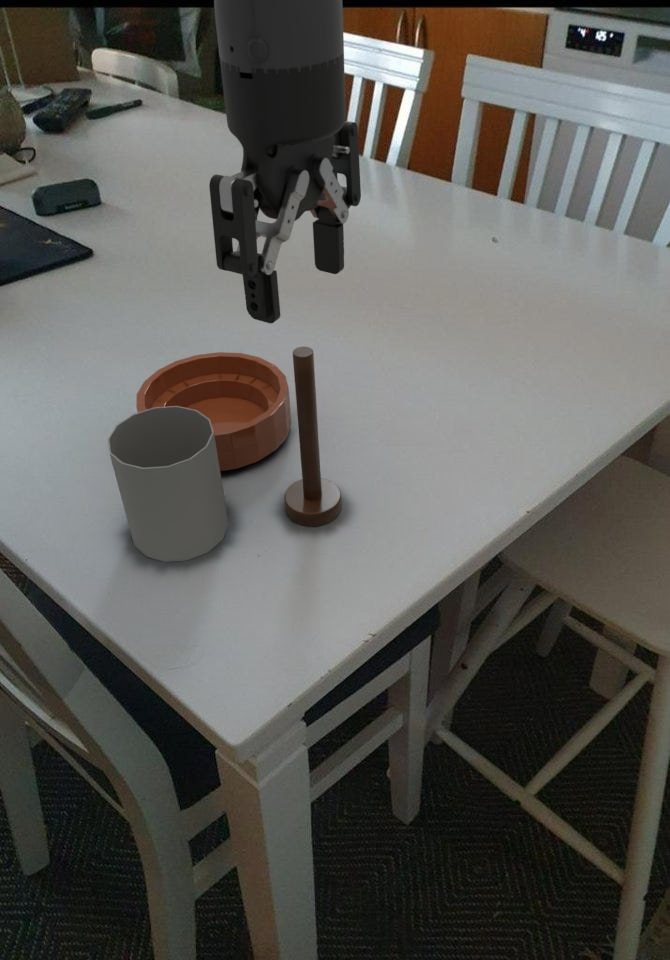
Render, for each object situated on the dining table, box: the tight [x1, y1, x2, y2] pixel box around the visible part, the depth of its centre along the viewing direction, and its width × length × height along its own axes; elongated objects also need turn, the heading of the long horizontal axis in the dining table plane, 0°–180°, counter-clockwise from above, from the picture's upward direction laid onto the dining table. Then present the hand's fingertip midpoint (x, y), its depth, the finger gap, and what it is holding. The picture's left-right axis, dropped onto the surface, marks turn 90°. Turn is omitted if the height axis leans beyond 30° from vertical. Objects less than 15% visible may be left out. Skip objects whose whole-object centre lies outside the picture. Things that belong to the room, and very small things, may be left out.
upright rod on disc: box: [284, 346, 342, 527], centre depth 67 cm, size 5×5×16 cm
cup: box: [107, 406, 230, 563], centre depth 68 cm, size 8×8×10 cm
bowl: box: [135, 351, 292, 472], centre depth 80 cm, size 15×15×5 cm
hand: (298, 293), depth 59 cm, fingers open, 8 cm apart
